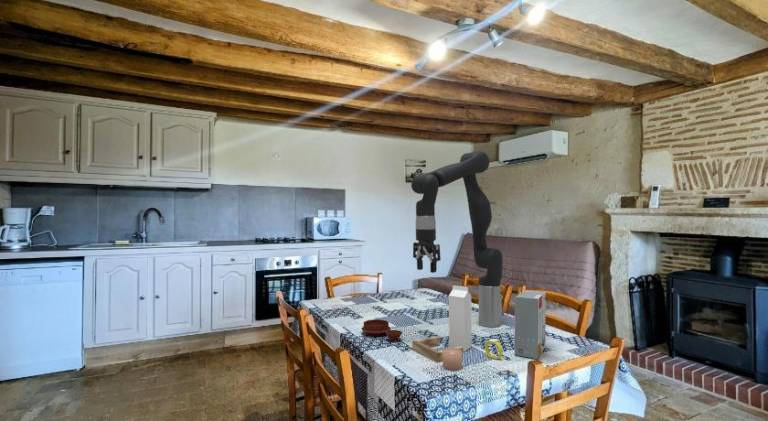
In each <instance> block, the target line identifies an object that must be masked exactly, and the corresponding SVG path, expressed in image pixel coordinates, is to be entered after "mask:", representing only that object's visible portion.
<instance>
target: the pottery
mask: <svg viewBox="0 0 768 421" xmlns="http://www.w3.org/2000/svg"><path fill="white" fill-rule="evenodd" d="M389 324H390V322H389V321H388V320H385V319H373V318H372V319H368V320H365V321H364V322H363V326H362V327H361V330H362V332H365V333H368V335H370V336H375V337H376V336H377V337H378V336H382V335H384V333H385V335H386V336H387V337H388V338H389V341H391V342H398V341H399V340H398V339H400V337H401V336H402V334H403V331H401V330H399V329H392V328H391V326H390V325H389Z"/></svg>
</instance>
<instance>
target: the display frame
mask: <svg viewBox="0 0 768 421" xmlns="http://www.w3.org/2000/svg"><path fill="white" fill-rule="evenodd" d="M440 339H441V338H440V336H438V335H437V336H436V335H435V336H432V337H426V338H422V339H417V340H412V341H411V342H412V343H411V346H412V351H414V352H416V353H418V354H420V355H422V357H423V356H424V357H425V358H427V359H429V360H431V361H434V362H435V363H443V349H442V350H436V349H435V348H436V347H439V346H440V342H441V340H440ZM454 348H457V349H460V350H461V351H462V358H463V357H464V351H463V347H461V346H458V347H454Z"/></svg>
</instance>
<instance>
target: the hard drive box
mask: <svg viewBox="0 0 768 421" xmlns="http://www.w3.org/2000/svg"><path fill="white" fill-rule="evenodd" d="M546 295H547V294H546V292H545V291H536V290H529V289H528V290H527V289H525V290H523V291H522V292H520V293H519V294H517V295H516V296H515V297H514V340H513V341H514V345H513V346H514V347H513V349H514V352H513V353H514V356H520V357H524V358H529V359H534V360H538V358H540V356H541V354H542V352H544V350H545V348H546V311H547V310H546V309H547V307H546V305H547V304H546Z"/></svg>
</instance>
